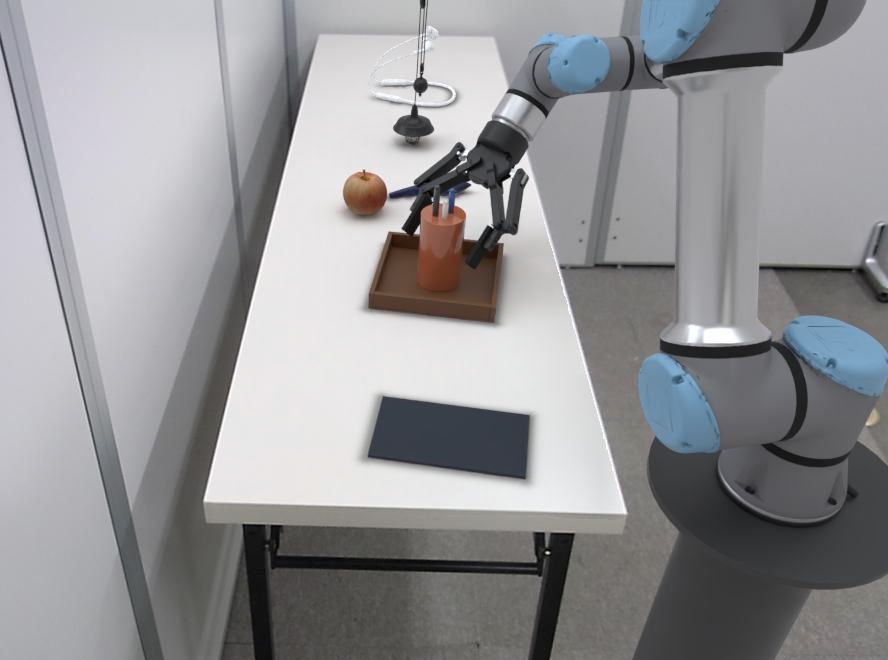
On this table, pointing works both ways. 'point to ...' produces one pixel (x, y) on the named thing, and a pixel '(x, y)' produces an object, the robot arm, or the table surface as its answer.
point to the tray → (404, 294)
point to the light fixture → (414, 122)
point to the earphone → (428, 48)
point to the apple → (364, 193)
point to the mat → (451, 437)
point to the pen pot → (441, 243)
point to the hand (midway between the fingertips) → (437, 249)
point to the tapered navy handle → (414, 190)
